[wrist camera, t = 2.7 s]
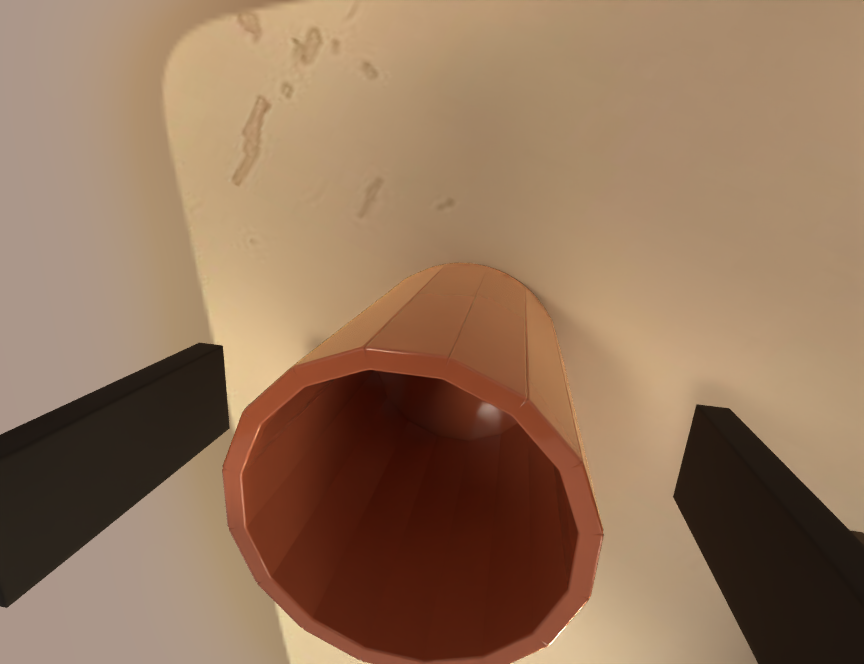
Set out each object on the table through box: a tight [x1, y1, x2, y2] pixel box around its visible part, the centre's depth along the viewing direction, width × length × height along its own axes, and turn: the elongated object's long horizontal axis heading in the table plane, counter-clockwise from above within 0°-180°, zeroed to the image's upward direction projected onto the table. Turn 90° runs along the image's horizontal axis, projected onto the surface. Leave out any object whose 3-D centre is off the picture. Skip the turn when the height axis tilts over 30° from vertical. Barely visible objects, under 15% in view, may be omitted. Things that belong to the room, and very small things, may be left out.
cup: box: [222, 263, 604, 664], centre depth 12 cm, size 7×7×9 cm
